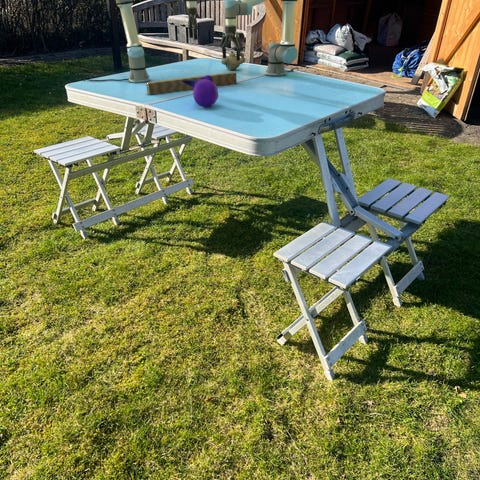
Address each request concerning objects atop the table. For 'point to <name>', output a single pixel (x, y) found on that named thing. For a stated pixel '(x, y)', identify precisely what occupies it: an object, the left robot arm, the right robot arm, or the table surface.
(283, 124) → the table surface
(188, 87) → the bar
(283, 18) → the right robot arm
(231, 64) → the teapot
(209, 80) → the toy
